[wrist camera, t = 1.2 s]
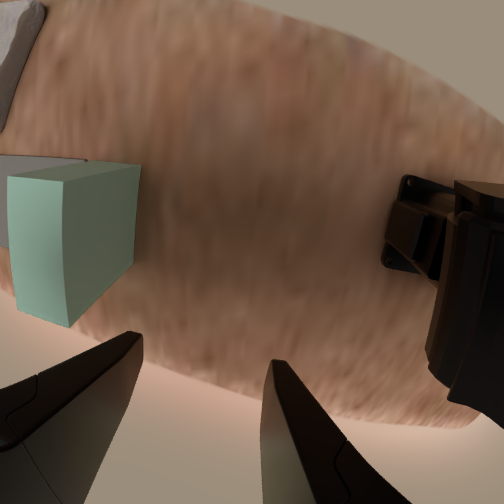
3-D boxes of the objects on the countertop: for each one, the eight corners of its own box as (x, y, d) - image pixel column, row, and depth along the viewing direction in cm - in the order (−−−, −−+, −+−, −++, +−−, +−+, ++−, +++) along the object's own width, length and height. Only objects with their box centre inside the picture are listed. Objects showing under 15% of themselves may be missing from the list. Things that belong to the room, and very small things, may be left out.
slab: (141, 165, 20) (63, 181, 11) (133, 263, 22) (69, 328, 13) (95, 160, 19) (7, 175, 11) (91, 254, 22) (17, 309, 13)
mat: (86, 159, 19) (84, 160, 19) (83, 265, 22) (81, 267, 22) (-2, 154, 19) (-5, 155, 19) (-1, 244, 22) (-4, 245, 21)
